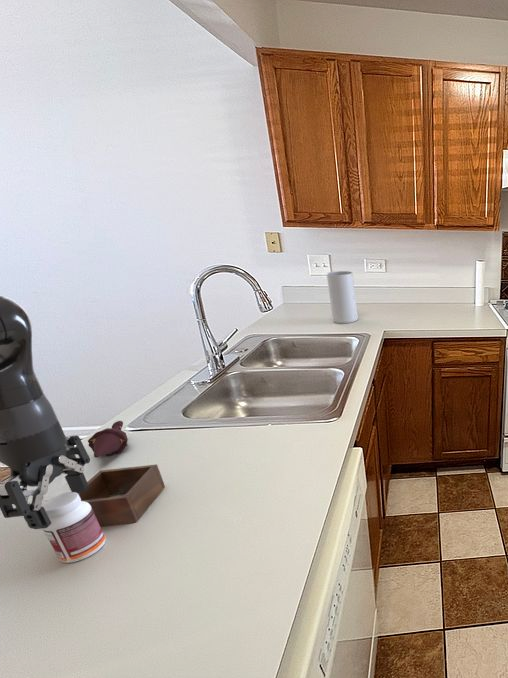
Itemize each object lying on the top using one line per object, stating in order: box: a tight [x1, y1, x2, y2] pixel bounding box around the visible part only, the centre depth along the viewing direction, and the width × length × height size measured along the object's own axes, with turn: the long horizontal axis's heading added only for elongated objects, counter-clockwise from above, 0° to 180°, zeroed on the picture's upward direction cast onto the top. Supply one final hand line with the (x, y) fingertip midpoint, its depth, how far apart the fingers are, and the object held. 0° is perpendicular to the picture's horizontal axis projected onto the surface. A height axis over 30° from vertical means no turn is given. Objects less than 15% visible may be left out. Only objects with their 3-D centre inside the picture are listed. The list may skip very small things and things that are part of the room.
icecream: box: [87, 420, 129, 459], centre depth 97 cm, size 7×7×15 cm
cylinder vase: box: [326, 270, 359, 324], centre depth 206 cm, size 12×12×25 cm
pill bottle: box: [41, 491, 107, 564], centre depth 69 cm, size 6×6×11 cm
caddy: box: [78, 464, 166, 528], centre depth 80 cm, size 11×11×6 cm
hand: (62, 508), depth 68 cm, fingers open, 8 cm apart
